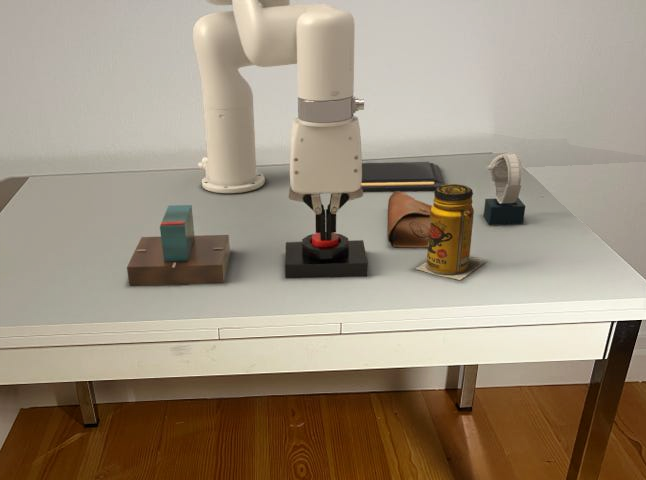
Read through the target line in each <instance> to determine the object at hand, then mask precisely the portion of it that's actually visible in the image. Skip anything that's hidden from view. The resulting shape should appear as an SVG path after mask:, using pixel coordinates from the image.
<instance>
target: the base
mask: <svg viewBox="0 0 646 480" xmlns="http://www.w3.org/2000/svg"><path fill="white" fill-rule="evenodd" d="M194 236H195V239H194V242H193V246H192V249H191V253H190V256H189V260H188V261H172V262H164V258H163V250H162V241H161V236H141V237H140V239H139V241H138V244H137V246H136V248H135V250H134V252H133V253H132V256H131V258H130V260H129V262H128V263H127V266H126V270H127V279H128V284H129V286H133V287H134V286H165V285H166V286H174V285H175V286H176V285H178V286H180V285H210V284H211V285H213V284H214V285H215V284H217V285H219V284H224V283H225V278H226V275H227V268H228V265H229V259H230V253H231V246H230V236H229V234H206V235H205V234H204V235H194Z"/></svg>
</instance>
